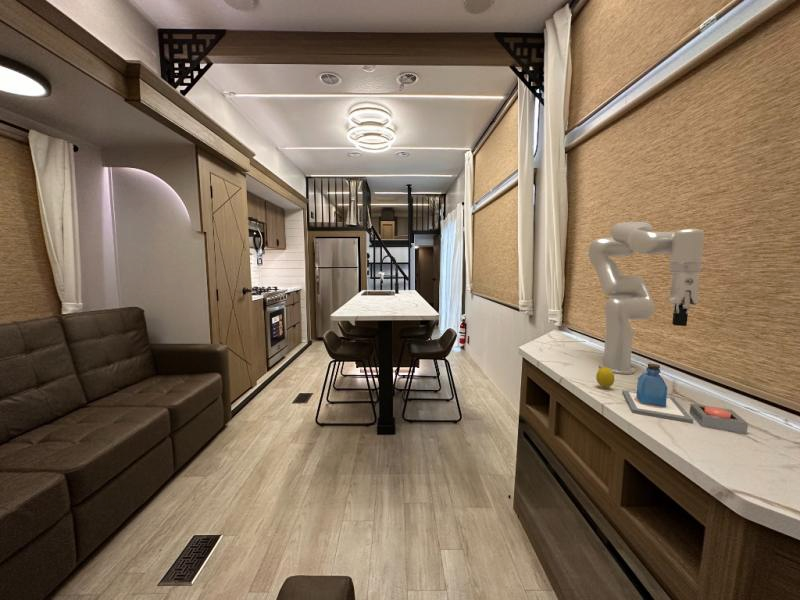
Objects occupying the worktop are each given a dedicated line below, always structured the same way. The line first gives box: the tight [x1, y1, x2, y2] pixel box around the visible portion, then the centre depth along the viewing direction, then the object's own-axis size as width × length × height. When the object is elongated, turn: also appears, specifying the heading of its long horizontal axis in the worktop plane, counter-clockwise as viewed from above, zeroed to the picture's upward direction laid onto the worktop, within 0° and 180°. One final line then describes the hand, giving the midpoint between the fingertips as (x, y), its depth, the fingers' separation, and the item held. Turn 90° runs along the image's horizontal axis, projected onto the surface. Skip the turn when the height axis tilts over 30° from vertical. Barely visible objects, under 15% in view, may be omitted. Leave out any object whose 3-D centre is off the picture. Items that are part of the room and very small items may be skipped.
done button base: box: [689, 403, 749, 435], centre depth 88 cm, size 9×9×3 cm
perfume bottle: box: [636, 363, 668, 408], centre depth 98 cm, size 6×6×12 cm
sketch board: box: [621, 389, 694, 424], centre depth 98 cm, size 17×14×1 cm
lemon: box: [595, 367, 615, 389], centre depth 113 cm, size 6×6×8 cm
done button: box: [704, 405, 731, 419], centre depth 88 cm, size 5×5×3 cm
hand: (679, 325), depth 102 cm, fingers closed
